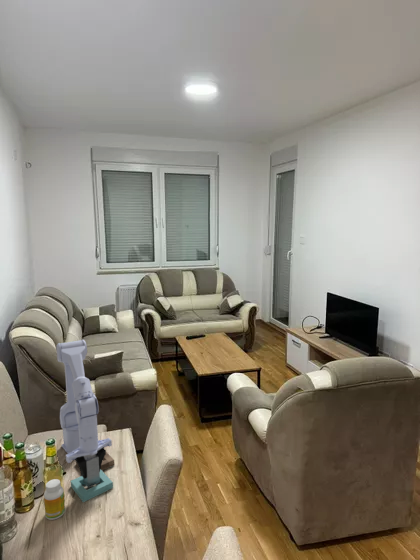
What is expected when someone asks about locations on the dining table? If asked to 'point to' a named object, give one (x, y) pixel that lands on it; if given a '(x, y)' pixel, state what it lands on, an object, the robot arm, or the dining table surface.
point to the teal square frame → (94, 491)
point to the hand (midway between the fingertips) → (91, 473)
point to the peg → (92, 470)
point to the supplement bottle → (54, 500)
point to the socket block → (106, 462)
